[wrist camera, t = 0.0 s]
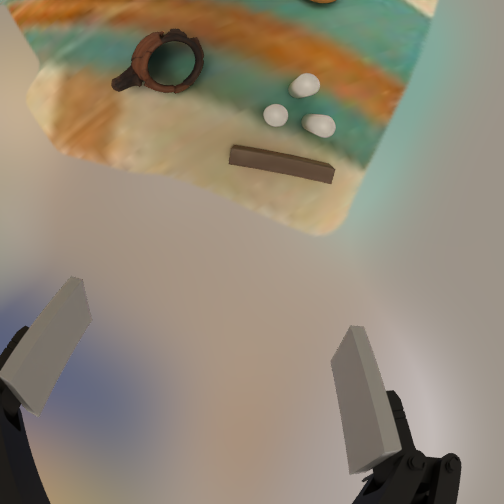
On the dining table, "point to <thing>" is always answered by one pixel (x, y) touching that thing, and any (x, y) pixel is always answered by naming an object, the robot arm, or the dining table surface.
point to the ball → (323, 1)
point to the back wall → (281, 163)
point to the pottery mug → (141, 58)
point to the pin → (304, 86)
